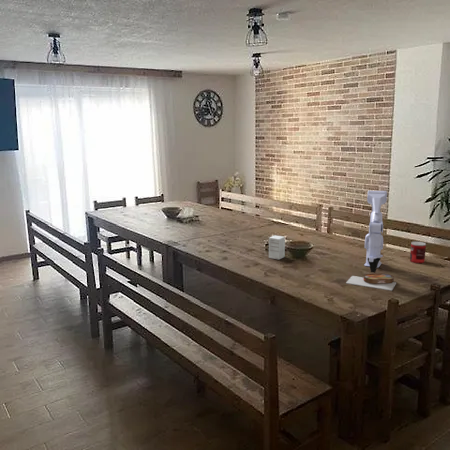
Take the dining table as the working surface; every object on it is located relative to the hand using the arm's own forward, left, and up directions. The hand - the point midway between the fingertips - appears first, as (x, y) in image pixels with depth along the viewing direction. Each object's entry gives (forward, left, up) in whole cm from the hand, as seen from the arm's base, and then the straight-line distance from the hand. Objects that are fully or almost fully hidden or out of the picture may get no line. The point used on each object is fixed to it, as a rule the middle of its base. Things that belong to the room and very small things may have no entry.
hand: (373, 272), depth 227 cm
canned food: (-46, +15, -5) cm, 49 cm away
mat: (+4, 0, -5) cm, 6 cm away
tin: (-4, 0, -3) cm, 5 cm away
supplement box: (-16, -60, -5) cm, 62 cm away
